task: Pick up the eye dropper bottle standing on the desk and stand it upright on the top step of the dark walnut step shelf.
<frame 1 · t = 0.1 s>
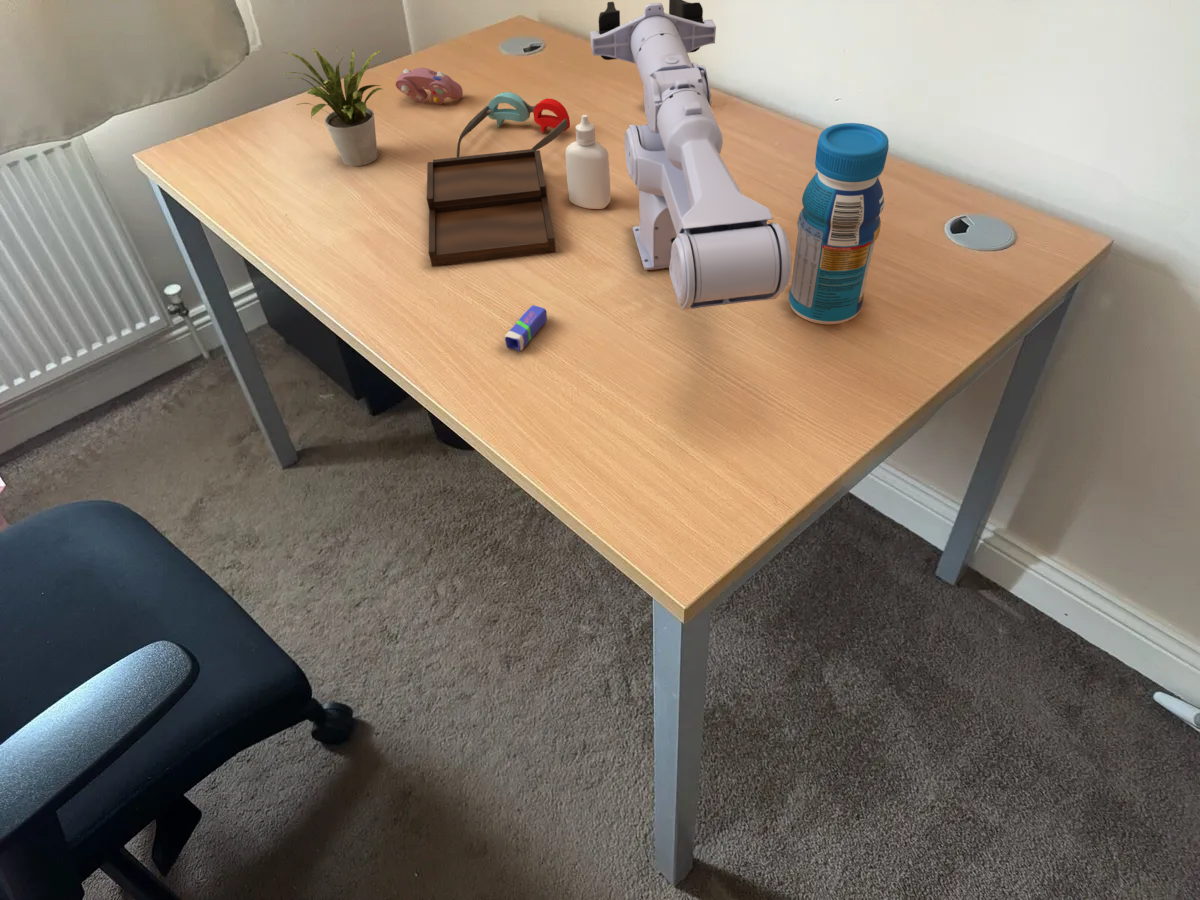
hand: (641, 7, 104), 22 cm above the table, tool horizontal, fingers open, 7 cm apart
beverage bottle: (824, 306, 97), on the table
step shelf: (490, 217, 113), on the table
house plant: (351, 160, 127), on the table
eraser: (527, 336, 96), on the table
eye dropper bottle: (589, 203, 115), on the table
novelty glasses: (511, 149, 127), on the table
video game controller: (432, 102, 139), on the table
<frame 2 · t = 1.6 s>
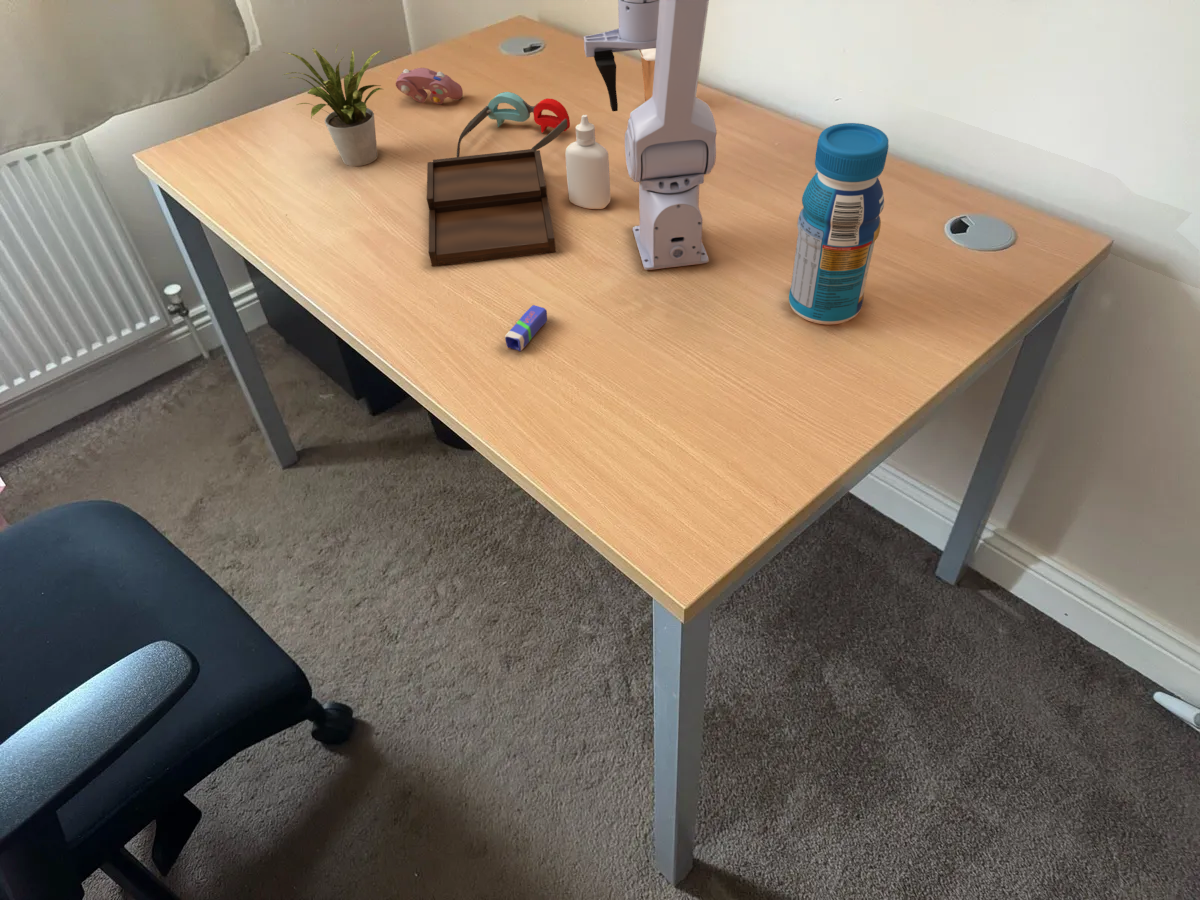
hand: (642, 105, 113), 9 cm above the table, tool pointing down, fingers open, 7 cm apart
nothing on the table moved.
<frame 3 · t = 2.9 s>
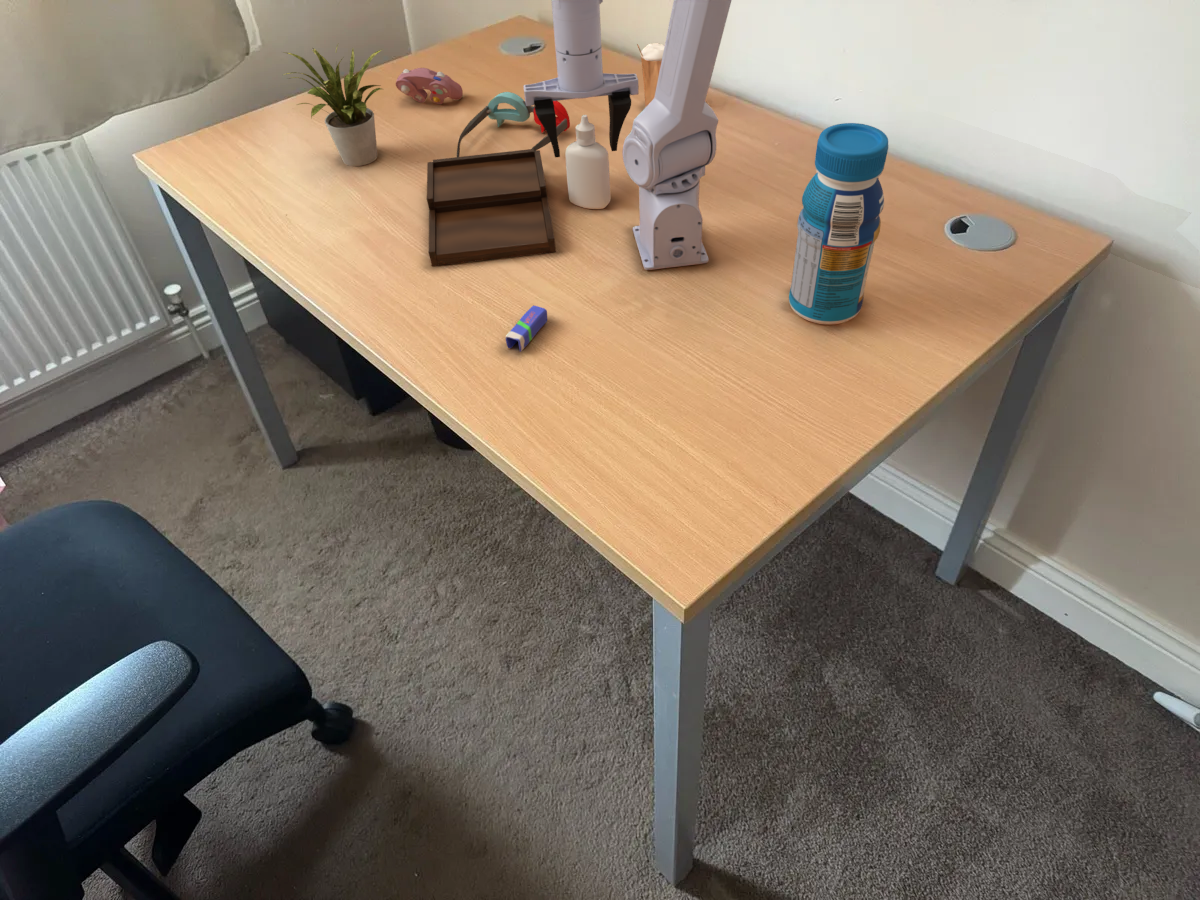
hand: (585, 150, 114), 5 cm above the table, tool pointing down, fingers open, 7 cm apart
nothing on the table moved.
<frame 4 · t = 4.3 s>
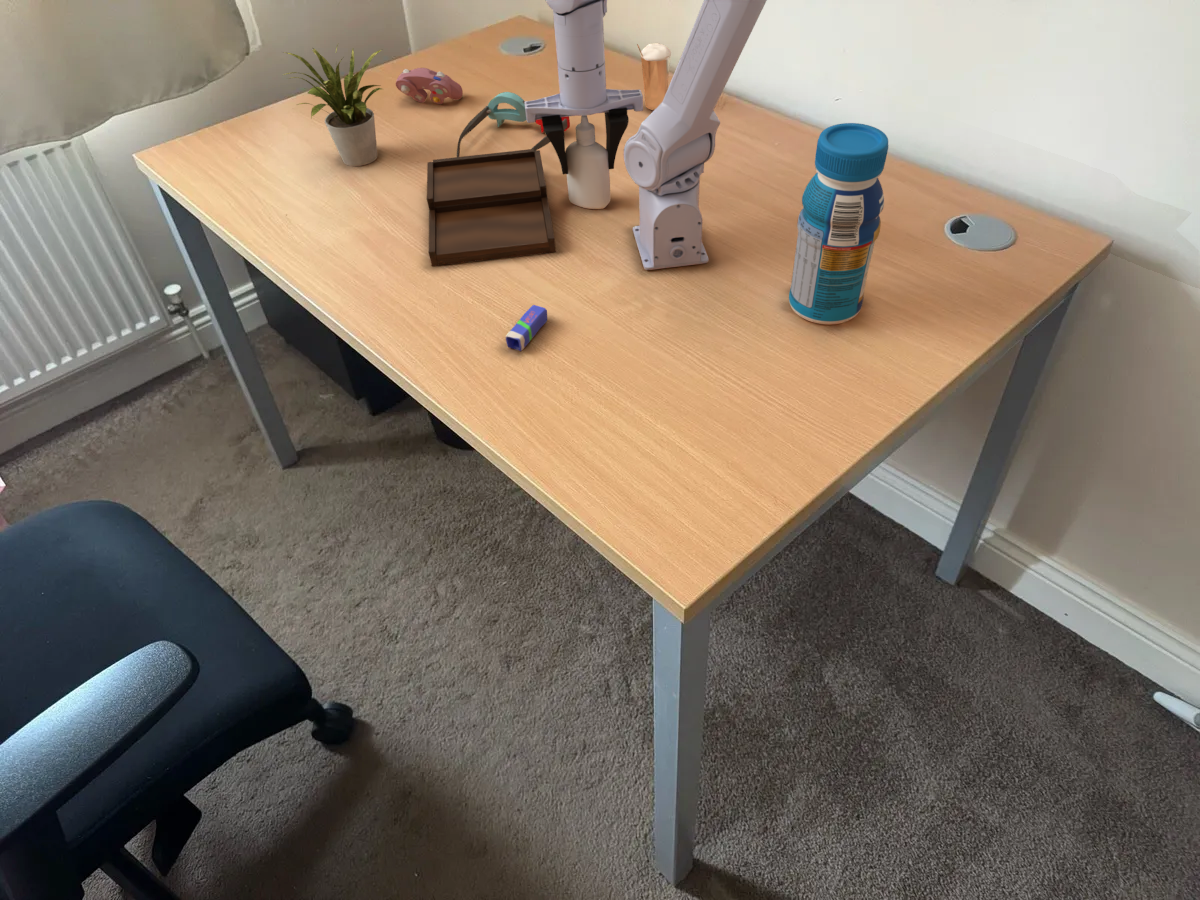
hand: (587, 168, 111), 5 cm above the table, tool pointing down, fingers closed on eye dropper bottle, 5 cm apart
eye dropper bottle: (589, 203, 115), on the table, touching gripper
everything else where it was.
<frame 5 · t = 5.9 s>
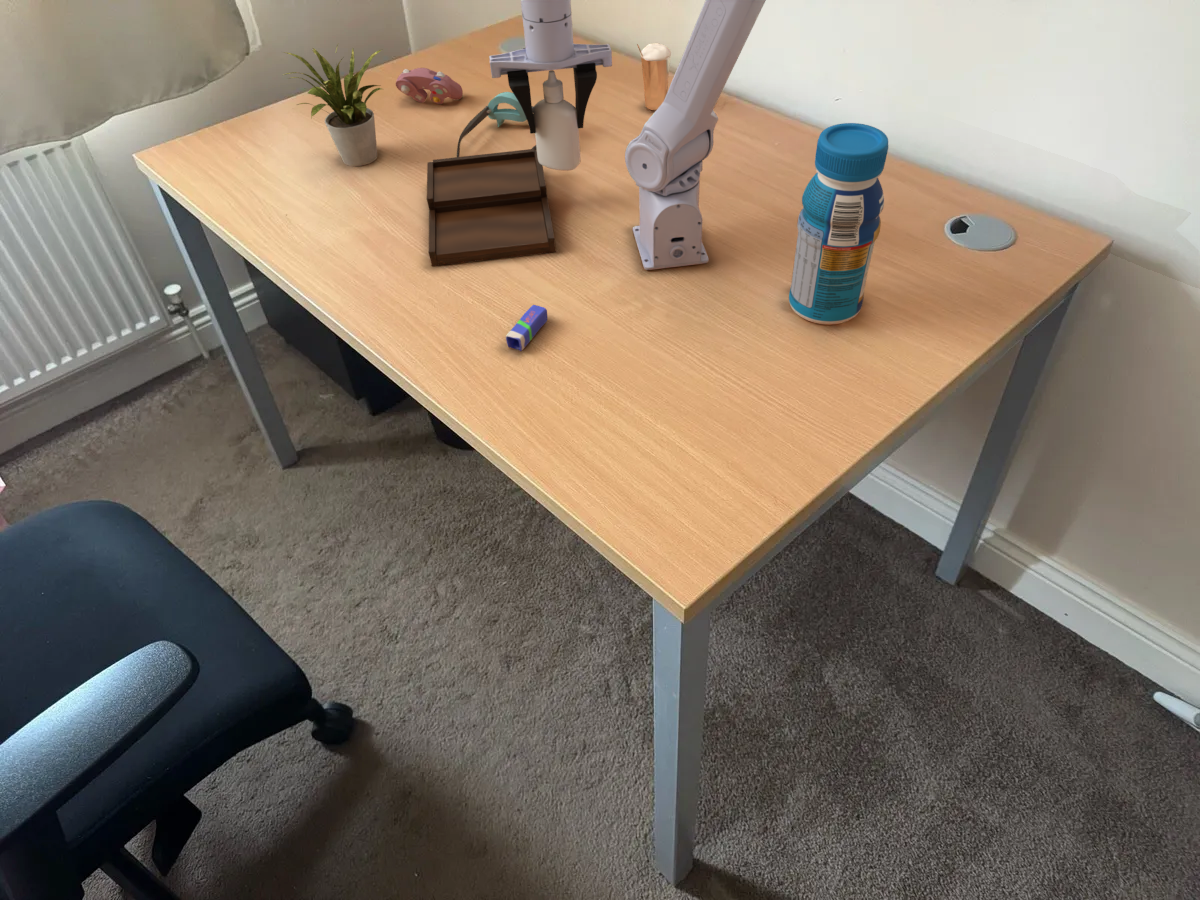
hand: (556, 127, 108), 10 cm above the table, tool pointing down, fingers closed on eye dropper bottle, 5 cm apart
eye dropper bottle: (559, 165, 111), point 5 cm above the table, touching gripper
everything else where it was.
when the fingers open (8 cm above the table, at t = 8.0 s): eye dropper bottle stays where it is, resting on step shelf.
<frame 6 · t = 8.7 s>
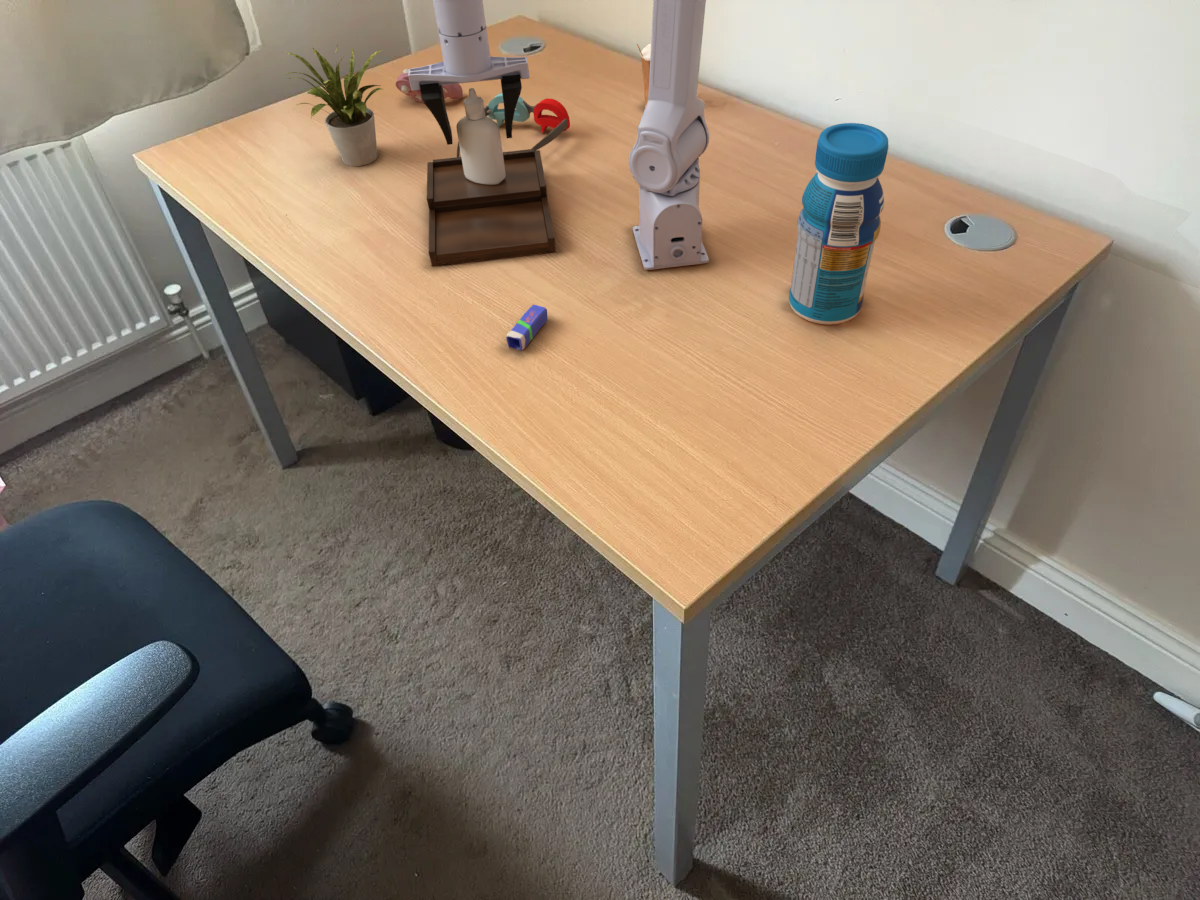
hand: (479, 137, 110), 9 cm above the table, tool pointing down, fingers open, 7 cm apart
eye dropper bottle: (485, 179, 114), point 3 cm above the table, touching step shelf
everything else where it was.
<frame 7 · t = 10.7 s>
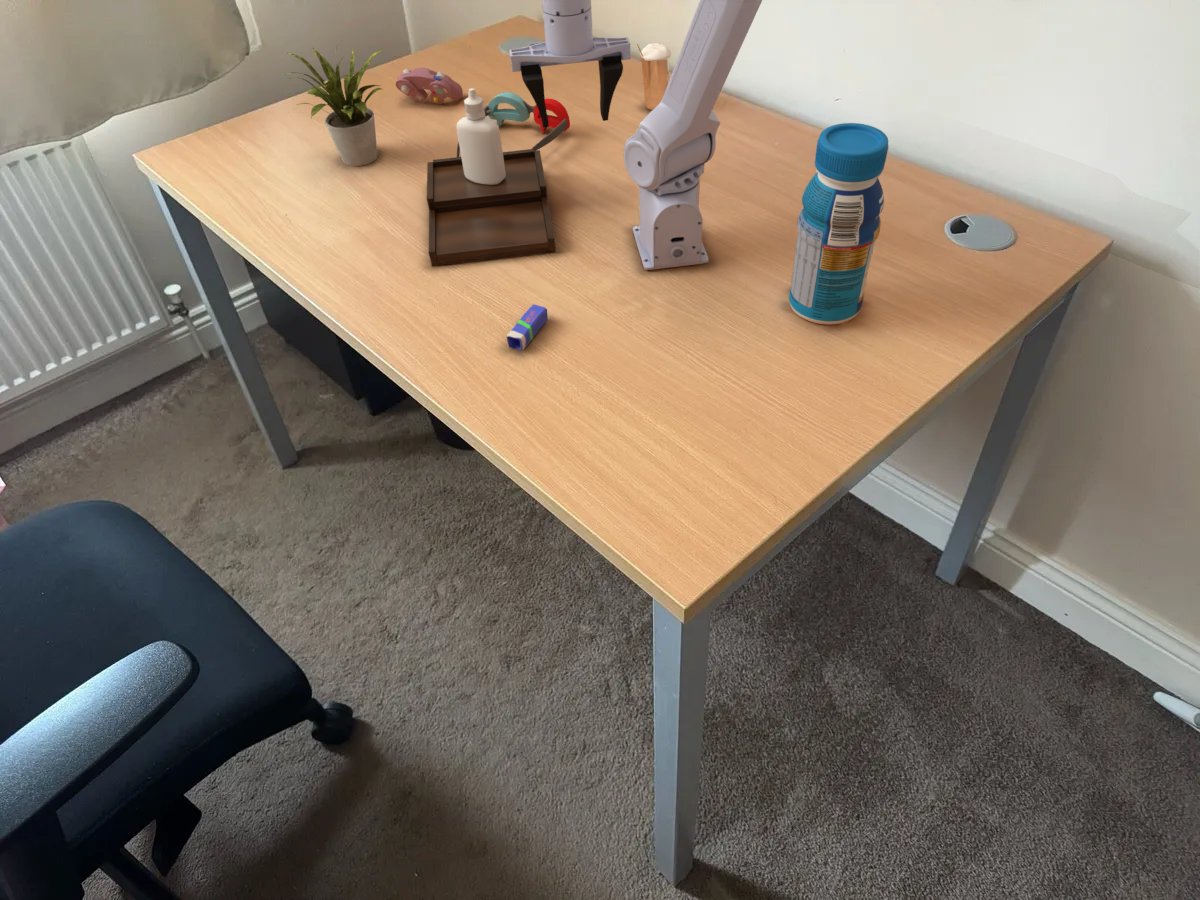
hand: (574, 120, 109), 10 cm above the table, tool pointing down, fingers open, 7 cm apart
nothing on the table moved.
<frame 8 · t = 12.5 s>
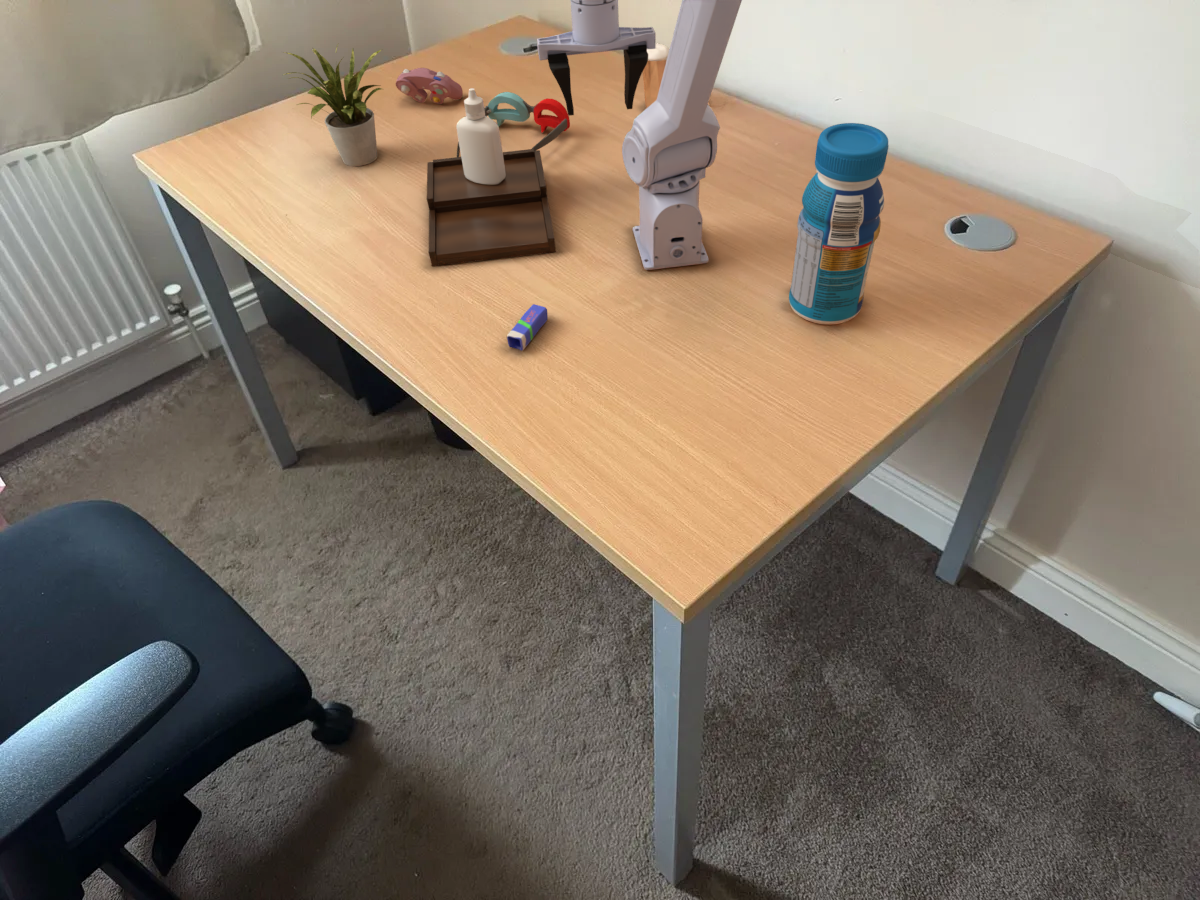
hand: (599, 109, 111), 10 cm above the table, tool pointing down, fingers open, 7 cm apart
nothing on the table moved.
at the end: eye dropper bottle inside the target area on the step shelf (0.4 cm from its centre), point 3.0 cm above the step shelf's base; eye dropper bottle tilted 0°; the gripper is holding nothing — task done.
